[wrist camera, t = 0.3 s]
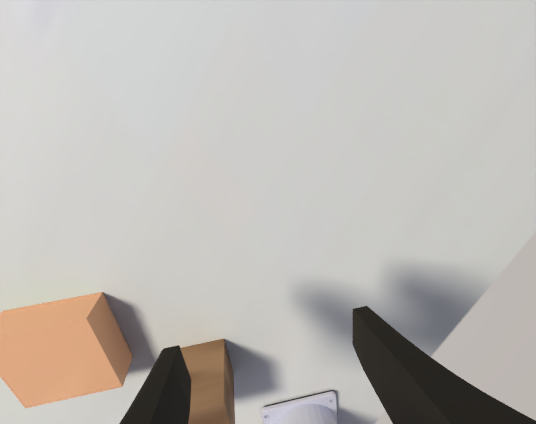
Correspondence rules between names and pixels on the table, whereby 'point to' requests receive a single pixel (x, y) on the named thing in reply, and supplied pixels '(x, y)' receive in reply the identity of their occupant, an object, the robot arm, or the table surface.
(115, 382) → the terracotta block
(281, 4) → the table surface
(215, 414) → the walnut block
